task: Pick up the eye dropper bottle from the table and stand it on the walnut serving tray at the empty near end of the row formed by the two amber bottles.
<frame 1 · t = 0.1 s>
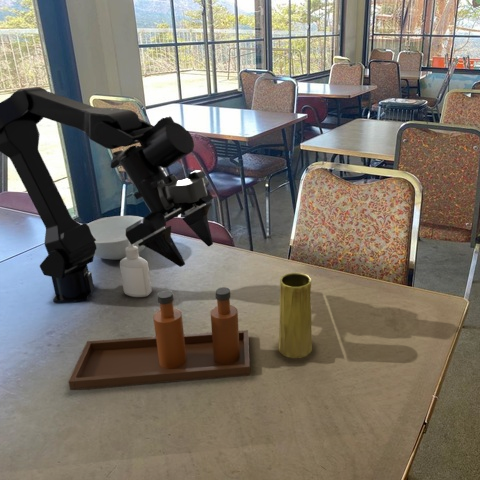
hand: (197, 255, 86), 15 cm above the table, tool tilted 30°, fingers open, 9 cm apart
cereal bowl: (119, 254, 120), on the table
tray: (167, 363, 81), on the table
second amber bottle: (226, 356, 83), point 1 cm above the table, touching tray
eye dropper bottle: (138, 294, 103), on the table
vase: (295, 350, 86), on the table
amber bottle: (172, 360, 81), point 1 cm above the table, touching tray
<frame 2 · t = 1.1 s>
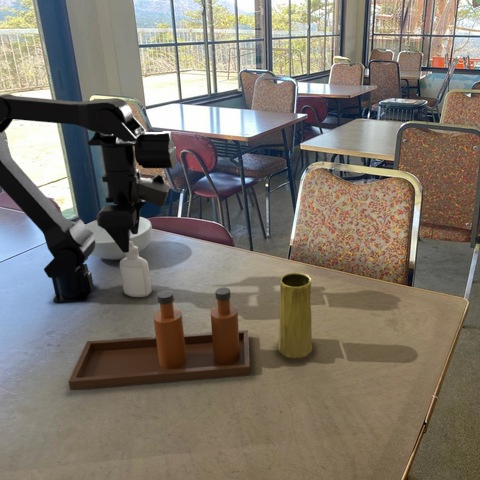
hand: (130, 242, 98), 12 cm above the table, tool pointing down, fingers open, 9 cm apart
nothing on the table moved.
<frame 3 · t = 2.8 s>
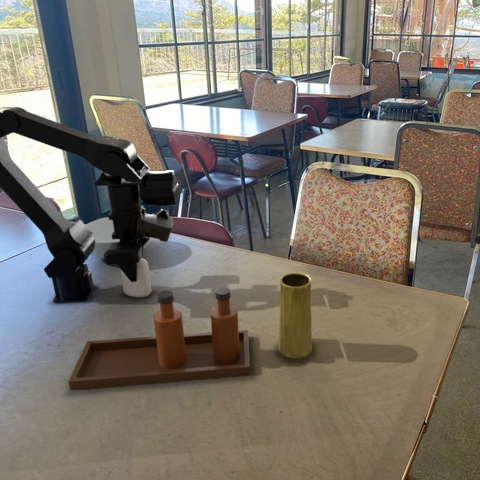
hand: (136, 275, 101), 4 cm above the table, tool pointing down, fingers closed on eye dropper bottle, 5 cm apart
eye dropper bottle: (138, 294, 103), on the table, touching gripper
everything else where it was.
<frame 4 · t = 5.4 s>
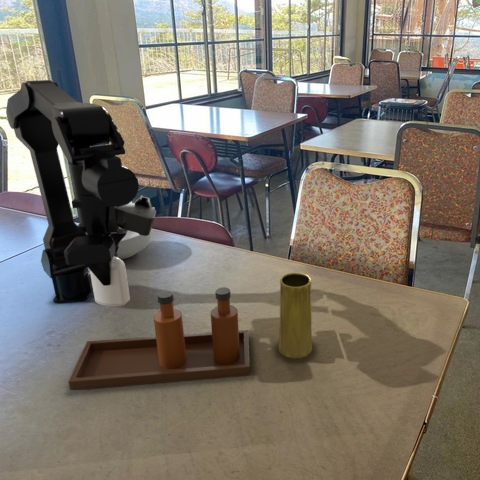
hand: (109, 279, 81), 13 cm above the table, tool pointing down, fingers closed on eye dropper bottle, 4 cm apart
eye dropper bottle: (113, 302, 82), point 9 cm above the table, touching gripper
everything else where it was.
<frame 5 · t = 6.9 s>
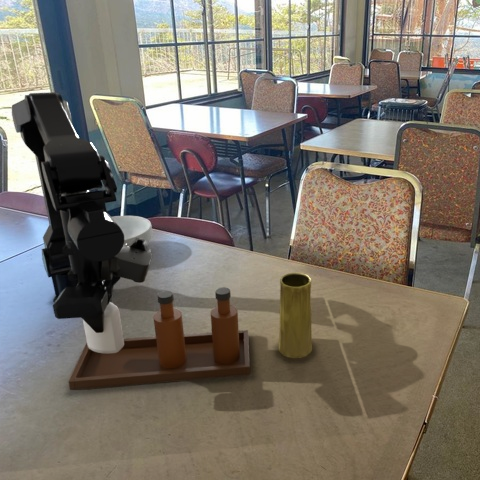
hand: (103, 324, 77), 8 cm above the table, tool pointing down, fingers closed on eye dropper bottle, 4 cm apart
eye dropper bottle: (106, 348, 78), point 4 cm above the table, touching gripper
everything else where it was.
when the fingers open (5 cm above the table, at t = 8.2 s): eye dropper bottle stays where it is, resting on tray.
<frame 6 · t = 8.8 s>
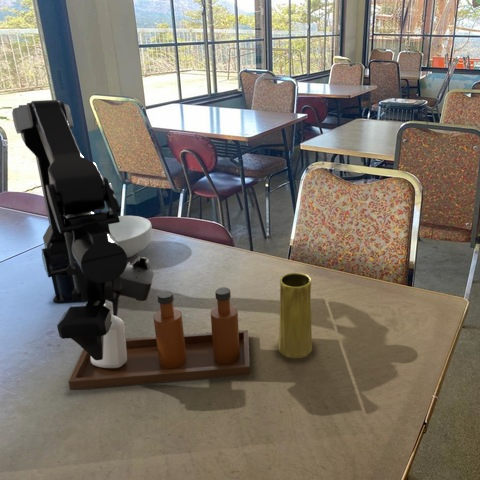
hand: (106, 341, 78), 5 cm above the table, tool pointing down, fingers open, 9 cm apart
eye dropper bottle: (109, 364, 80), point 1 cm above the table, touching tray
everything else where it was.
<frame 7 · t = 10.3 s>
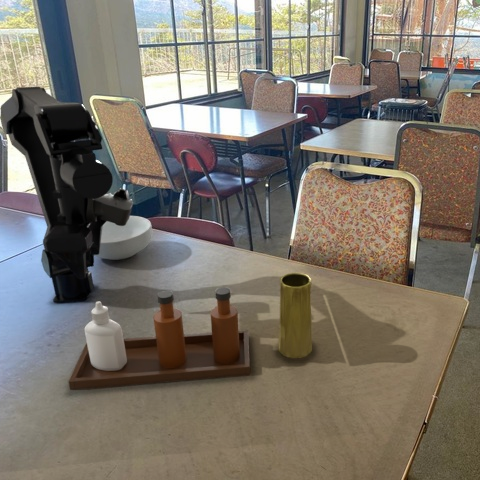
hand: (89, 265, 86), 13 cm above the table, tool pointing down, fingers open, 9 cm apart
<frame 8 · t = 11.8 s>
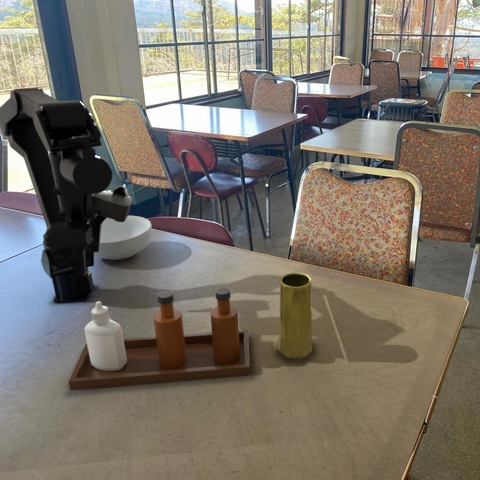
hand: (89, 262, 87), 13 cm above the table, tool pointing down, fingers open, 9 cm apart
nothing on the table moved.
at the end: eye dropper bottle 0.2 cm from the target spot in the tray, point 0.4 cm above the tray's base; eye dropper bottle tilted 0°; amber bottle moved 0.0 cm from its start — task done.
